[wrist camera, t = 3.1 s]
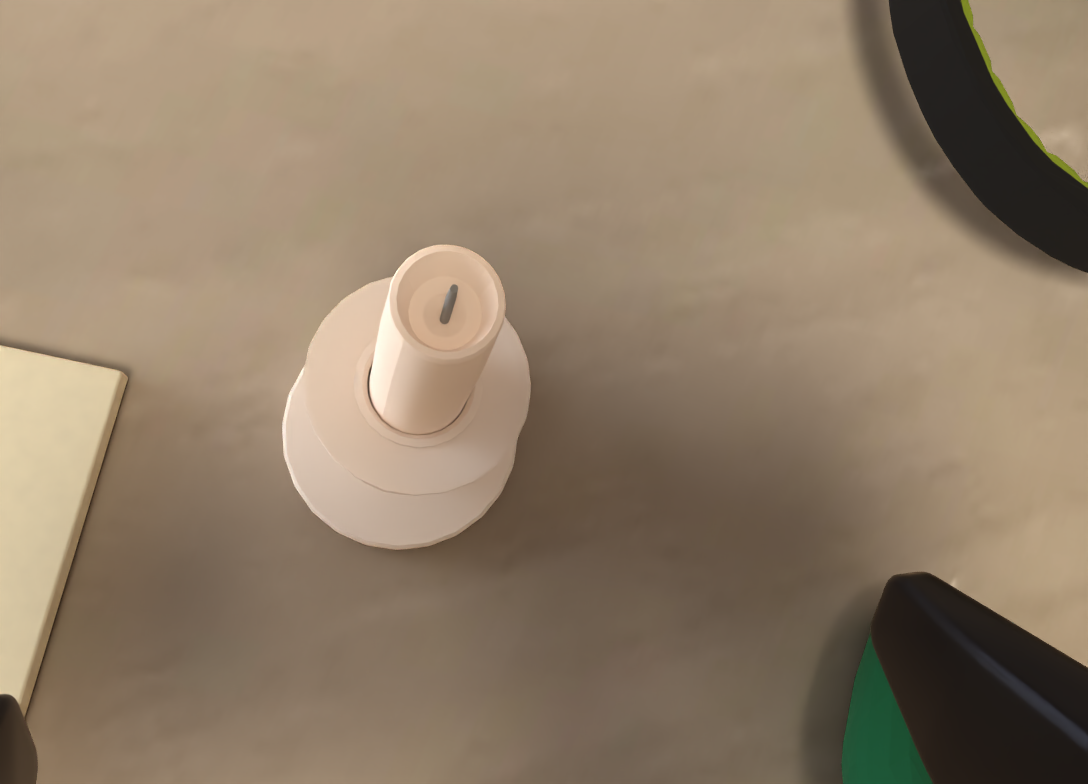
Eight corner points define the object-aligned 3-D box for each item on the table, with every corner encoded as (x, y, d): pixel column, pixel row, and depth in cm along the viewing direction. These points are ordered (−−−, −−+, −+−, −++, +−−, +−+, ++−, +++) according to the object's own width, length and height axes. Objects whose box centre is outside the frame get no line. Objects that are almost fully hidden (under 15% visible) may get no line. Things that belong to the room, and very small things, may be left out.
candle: (511, 553, 20) (668, 516, 10) (273, 547, 19) (194, 500, 9) (516, 333, 21) (662, 109, 12) (292, 316, 20) (240, 55, 10)
